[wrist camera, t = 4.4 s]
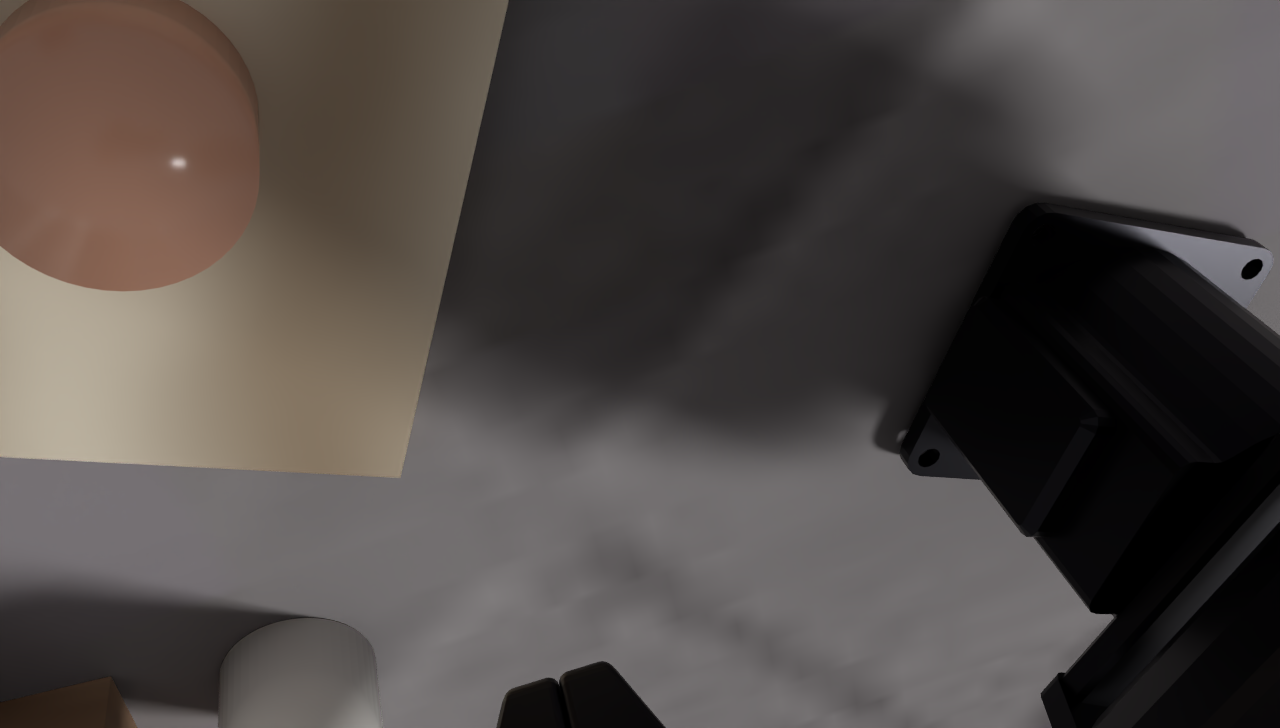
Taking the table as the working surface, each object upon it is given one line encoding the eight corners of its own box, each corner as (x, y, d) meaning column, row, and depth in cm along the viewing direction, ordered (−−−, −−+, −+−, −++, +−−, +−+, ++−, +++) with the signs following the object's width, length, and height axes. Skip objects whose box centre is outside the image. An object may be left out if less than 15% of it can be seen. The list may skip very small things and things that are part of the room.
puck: (273, 10, 16) (275, 63, 15) (244, 237, 18) (243, 305, 16) (-20, -47, 15) (-53, 3, 13) (-19, 203, 17) (-49, 275, 15)
